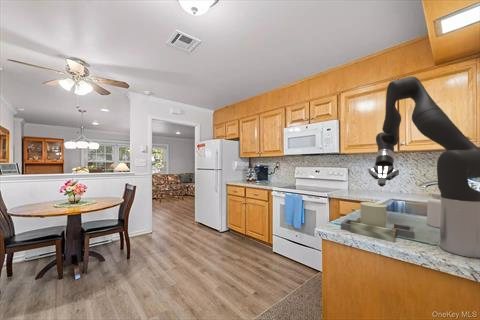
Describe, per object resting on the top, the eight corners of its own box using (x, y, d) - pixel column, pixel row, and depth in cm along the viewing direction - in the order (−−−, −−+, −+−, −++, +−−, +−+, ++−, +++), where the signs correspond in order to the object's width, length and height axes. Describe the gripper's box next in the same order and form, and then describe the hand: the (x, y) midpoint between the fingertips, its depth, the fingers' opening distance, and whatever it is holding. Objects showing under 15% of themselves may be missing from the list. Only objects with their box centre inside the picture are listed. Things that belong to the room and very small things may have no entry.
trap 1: (355, 226, 91) (356, 220, 91) (351, 231, 85) (351, 225, 85) (346, 224, 94) (346, 218, 94) (340, 228, 87) (340, 223, 87)
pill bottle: (453, 230, 87) (453, 195, 87) (428, 226, 92) (428, 193, 92) (449, 225, 94) (449, 193, 94) (425, 222, 99) (426, 191, 99)
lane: (397, 229, 87) (397, 220, 87) (394, 241, 74) (394, 230, 74) (359, 222, 96) (359, 214, 96) (350, 232, 84) (350, 222, 84)
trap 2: (413, 232, 84) (413, 226, 84) (413, 238, 77) (413, 232, 77) (397, 229, 87) (397, 224, 87) (396, 235, 81) (396, 228, 81)
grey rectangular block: (392, 236, 79) (392, 205, 79) (367, 235, 80) (368, 205, 80) (377, 228, 88) (378, 201, 88) (355, 228, 89) (356, 200, 89)
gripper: (368, 154, 108) (364, 179, 98) (400, 154, 99) (399, 181, 90) (370, 164, 112) (366, 188, 102) (401, 165, 103) (399, 191, 94)
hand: (381, 185), depth 96 cm, fingers closed
